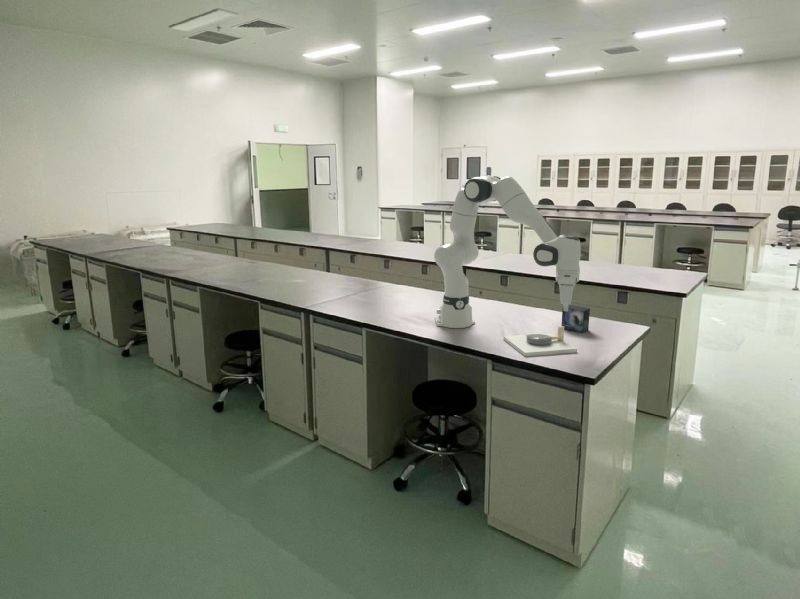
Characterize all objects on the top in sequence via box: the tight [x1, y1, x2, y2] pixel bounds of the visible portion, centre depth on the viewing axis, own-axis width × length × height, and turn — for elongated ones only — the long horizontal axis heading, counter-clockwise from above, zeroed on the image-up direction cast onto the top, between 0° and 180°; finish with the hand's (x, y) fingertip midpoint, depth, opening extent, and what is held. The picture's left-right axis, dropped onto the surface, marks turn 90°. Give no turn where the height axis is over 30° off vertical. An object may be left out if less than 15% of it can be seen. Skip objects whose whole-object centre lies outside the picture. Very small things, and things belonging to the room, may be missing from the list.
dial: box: [526, 325, 565, 345], centre depth 213 cm, size 16×10×6 cm, turn 101°
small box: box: [560, 304, 591, 334], centre depth 235 cm, size 11×6×10 cm, turn 45°
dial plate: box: [502, 332, 578, 357], centre depth 214 cm, size 22×22×2 cm
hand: (565, 310), depth 207 cm, fingers closed
